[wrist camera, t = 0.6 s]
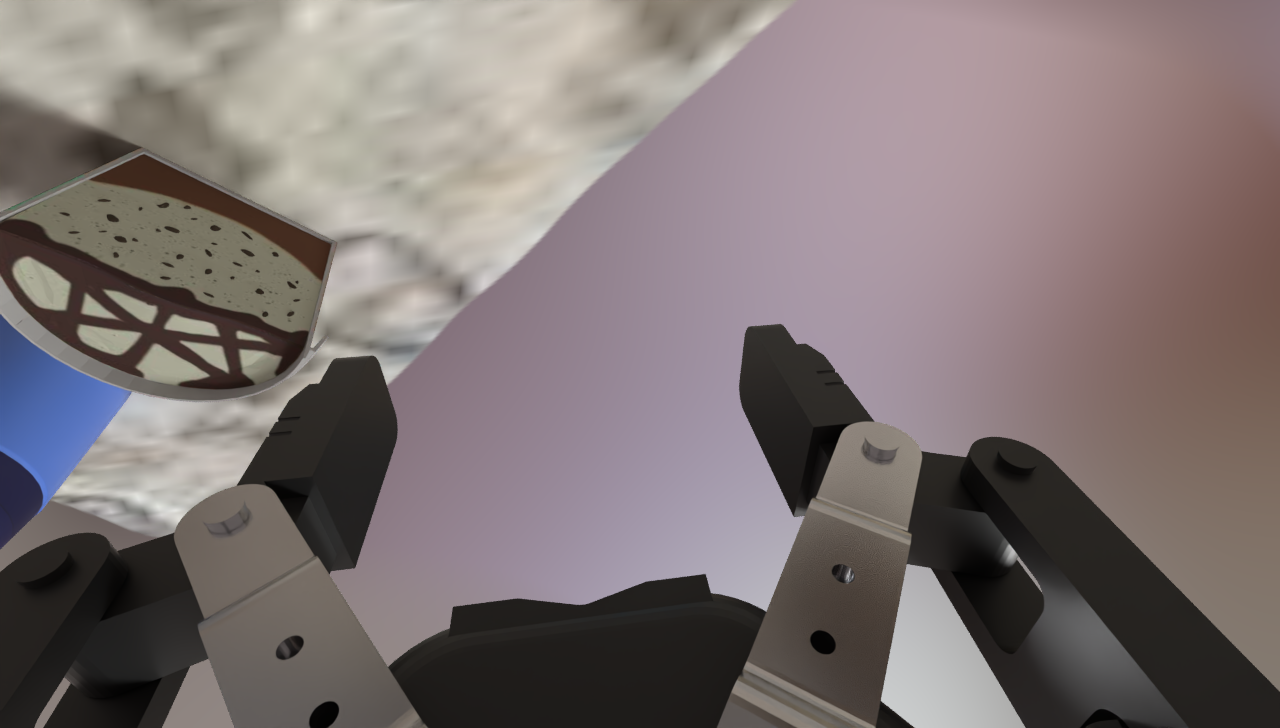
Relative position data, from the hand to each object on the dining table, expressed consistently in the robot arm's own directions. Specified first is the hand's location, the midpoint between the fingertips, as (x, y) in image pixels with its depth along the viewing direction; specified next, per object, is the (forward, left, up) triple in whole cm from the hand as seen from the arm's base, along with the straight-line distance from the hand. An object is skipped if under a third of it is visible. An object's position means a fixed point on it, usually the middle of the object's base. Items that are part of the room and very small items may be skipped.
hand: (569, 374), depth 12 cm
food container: (+11, -16, -22) cm, 30 cm away
